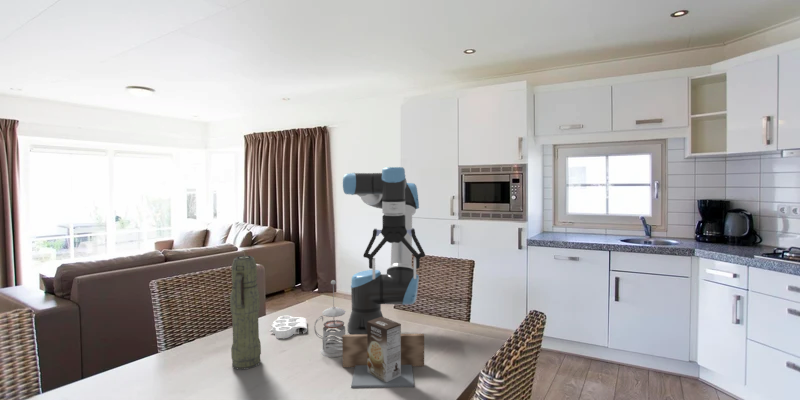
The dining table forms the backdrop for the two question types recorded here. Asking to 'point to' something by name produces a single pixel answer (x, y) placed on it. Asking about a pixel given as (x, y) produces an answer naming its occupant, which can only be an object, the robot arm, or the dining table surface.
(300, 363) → the dining table surface
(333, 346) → the french press
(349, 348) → the walnut board
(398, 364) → the coffee box
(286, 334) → the white flat lobed piece
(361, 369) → the grey mat
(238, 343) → the green canvas bag
